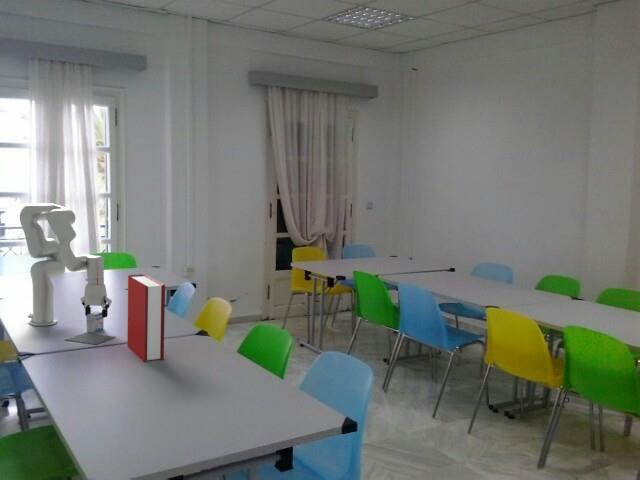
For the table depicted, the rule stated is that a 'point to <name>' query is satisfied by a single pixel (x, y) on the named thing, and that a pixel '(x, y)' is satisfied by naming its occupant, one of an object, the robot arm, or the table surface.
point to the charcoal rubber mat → (90, 338)
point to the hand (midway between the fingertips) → (96, 316)
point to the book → (146, 317)
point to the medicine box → (94, 322)
